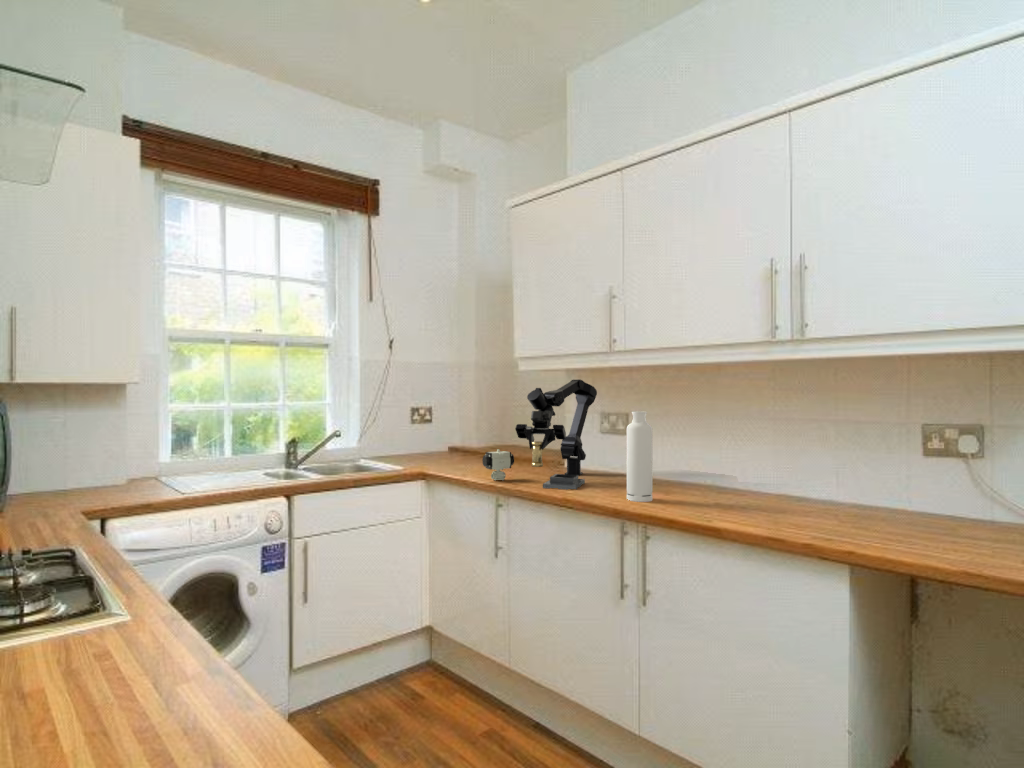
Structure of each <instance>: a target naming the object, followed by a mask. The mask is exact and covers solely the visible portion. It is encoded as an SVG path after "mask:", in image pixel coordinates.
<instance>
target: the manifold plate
mask: <svg viewBox="0 0 1024 768" xmlns="http://www.w3.org/2000/svg"><path fill="white" fill-rule="evenodd" d="M585 481H586V479H585V478H579V475H568V474H565V473H564V474H563V473H562V474H561V473H555V474H553V475H551V476H550V477H549V480H547V481H545V482H543V483H542V489H550V488H558V489H557V490H568V489H576V490H578V489H579V488H580V487H582V486H583V485H585ZM582 484H583V485H582ZM581 485H582V486H581ZM578 487H579V488H578ZM577 488H578V489H577Z"/></svg>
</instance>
